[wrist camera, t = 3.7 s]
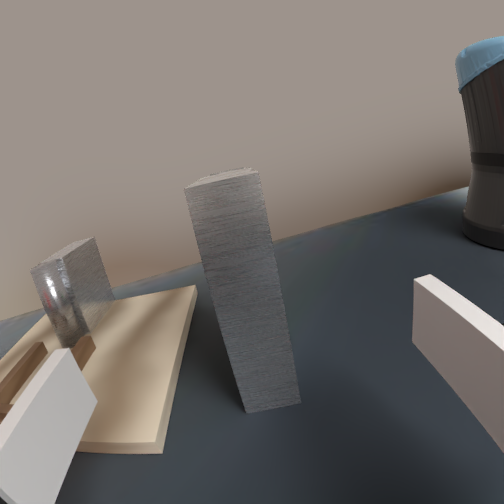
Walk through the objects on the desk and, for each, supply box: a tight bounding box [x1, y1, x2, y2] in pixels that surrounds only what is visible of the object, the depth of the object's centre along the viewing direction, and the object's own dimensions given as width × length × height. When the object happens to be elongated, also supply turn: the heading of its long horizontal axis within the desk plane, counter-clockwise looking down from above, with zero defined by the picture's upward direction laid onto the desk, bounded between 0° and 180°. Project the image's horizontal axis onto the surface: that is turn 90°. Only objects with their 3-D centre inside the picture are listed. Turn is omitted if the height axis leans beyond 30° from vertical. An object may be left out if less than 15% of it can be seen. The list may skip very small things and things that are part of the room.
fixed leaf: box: [30, 237, 115, 349], centre depth 28 cm, size 3×10×8 cm, turn 3°
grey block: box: [184, 168, 301, 414], centre depth 19 cm, size 3×11×12 cm, turn 4°
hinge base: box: [0, 285, 198, 454], centre depth 23 cm, size 20×21×2 cm
